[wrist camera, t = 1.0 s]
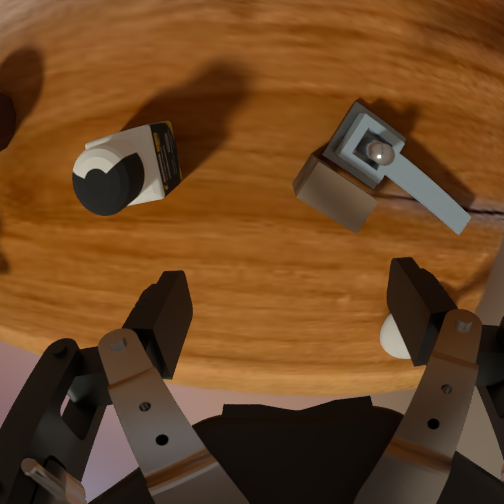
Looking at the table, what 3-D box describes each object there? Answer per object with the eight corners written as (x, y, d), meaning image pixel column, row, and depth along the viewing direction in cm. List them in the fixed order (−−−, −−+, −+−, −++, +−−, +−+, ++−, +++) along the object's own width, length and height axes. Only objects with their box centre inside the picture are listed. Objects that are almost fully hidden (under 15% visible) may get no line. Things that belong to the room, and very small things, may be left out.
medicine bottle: (184, 181, 34) (145, 217, 23) (129, 191, 35) (76, 230, 24) (171, 119, 31) (124, 129, 20) (115, 134, 32) (54, 153, 21)
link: (334, 152, 31) (338, 156, 29) (359, 112, 29) (365, 113, 27) (446, 236, 34) (453, 243, 32) (468, 204, 32) (477, 209, 30)
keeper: (311, 153, 32) (318, 161, 27) (364, 187, 33) (378, 201, 29) (292, 183, 34) (295, 197, 29) (345, 216, 35) (356, 233, 30)
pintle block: (354, 101, 29) (374, 100, 23) (403, 138, 30) (431, 147, 24) (320, 153, 32) (332, 165, 26) (371, 187, 33) (392, 206, 27)
